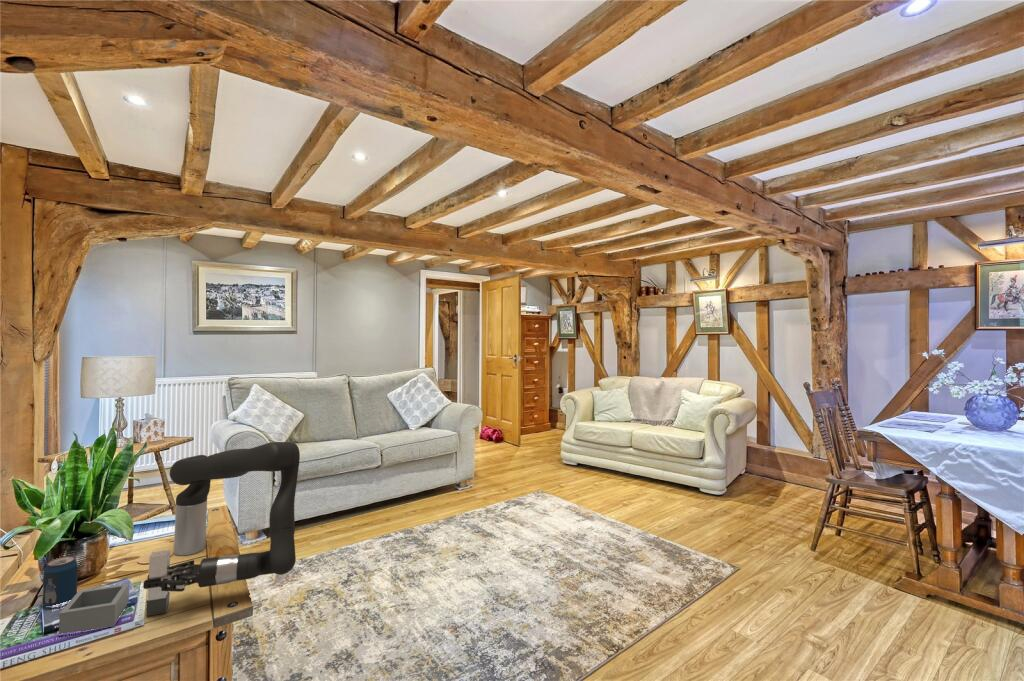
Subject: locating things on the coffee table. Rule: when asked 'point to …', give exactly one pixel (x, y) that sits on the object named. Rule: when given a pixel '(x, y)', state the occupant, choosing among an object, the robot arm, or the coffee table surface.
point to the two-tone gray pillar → (156, 597)
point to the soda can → (60, 580)
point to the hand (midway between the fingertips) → (146, 581)
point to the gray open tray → (94, 608)
